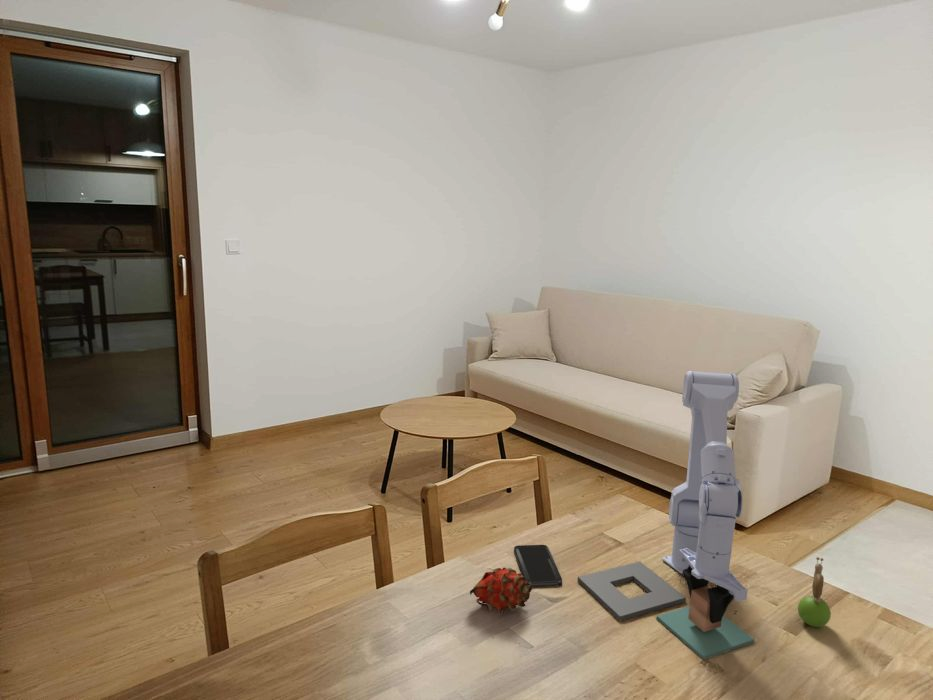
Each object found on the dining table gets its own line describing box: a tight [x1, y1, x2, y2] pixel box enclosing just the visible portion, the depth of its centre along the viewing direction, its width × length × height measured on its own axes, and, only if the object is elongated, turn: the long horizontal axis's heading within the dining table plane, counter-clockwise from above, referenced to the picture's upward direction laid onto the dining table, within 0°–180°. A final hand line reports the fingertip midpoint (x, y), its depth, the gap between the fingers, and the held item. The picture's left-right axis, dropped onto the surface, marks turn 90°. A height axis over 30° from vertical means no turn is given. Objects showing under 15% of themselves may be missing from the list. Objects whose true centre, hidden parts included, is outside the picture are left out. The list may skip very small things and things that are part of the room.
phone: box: [513, 544, 563, 588], centre depth 135 cm, size 8×1×15 cm
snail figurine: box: [797, 557, 832, 628], centre depth 118 cm, size 5×6×12 cm
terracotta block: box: [688, 585, 722, 632], centre depth 115 cm, size 4×4×6 cm
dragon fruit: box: [469, 567, 533, 615], centre depth 120 cm, size 8×8×12 cm
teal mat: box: [656, 605, 755, 660], centre depth 116 cm, size 12×12×1 cm
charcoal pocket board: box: [577, 561, 687, 622], centre depth 127 cm, size 16×14×1 cm
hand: (706, 613), depth 115 cm, fingers closed on terracotta block, 4 cm apart
